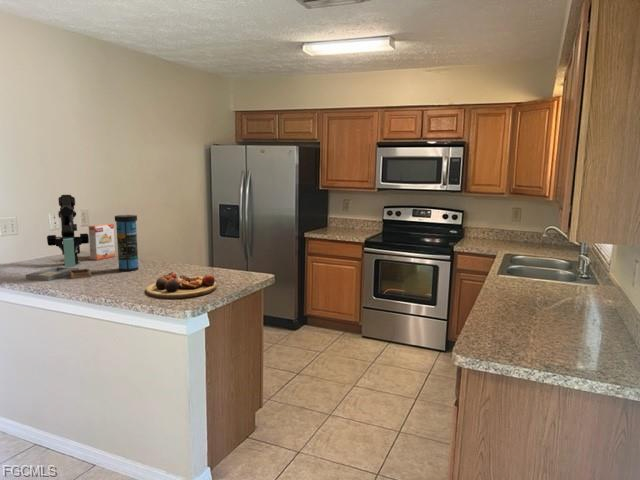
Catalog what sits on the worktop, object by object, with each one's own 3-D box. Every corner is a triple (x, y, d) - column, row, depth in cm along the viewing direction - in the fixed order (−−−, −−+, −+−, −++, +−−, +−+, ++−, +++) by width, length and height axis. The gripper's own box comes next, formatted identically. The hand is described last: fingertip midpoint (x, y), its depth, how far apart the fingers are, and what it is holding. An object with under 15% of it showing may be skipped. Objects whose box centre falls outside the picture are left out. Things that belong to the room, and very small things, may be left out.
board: (25, 278, 227) (25, 274, 227) (57, 270, 247) (57, 266, 246) (48, 280, 224) (48, 276, 224) (79, 271, 243) (78, 267, 243)
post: (65, 265, 232) (63, 238, 230) (75, 264, 234) (73, 238, 232) (65, 267, 228) (63, 239, 226) (75, 266, 231) (73, 239, 228)
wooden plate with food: (228, 284, 224) (227, 267, 223) (195, 301, 193) (195, 283, 192) (171, 280, 231) (170, 265, 230) (131, 297, 201) (129, 279, 200)
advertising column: (119, 267, 254) (116, 214, 249) (140, 267, 257) (138, 214, 252) (115, 272, 243) (112, 217, 238) (138, 271, 246) (135, 216, 241)
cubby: (69, 275, 235) (68, 270, 235) (88, 273, 240) (88, 268, 240) (71, 279, 228) (71, 274, 228) (91, 276, 233) (91, 272, 233)
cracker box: (97, 260, 272) (94, 226, 269) (90, 259, 274) (87, 225, 271) (115, 256, 285) (113, 223, 281) (108, 255, 287) (106, 223, 284)
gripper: (45, 219, 226) (46, 244, 219) (87, 218, 235) (89, 242, 228) (47, 232, 235) (48, 257, 227) (87, 231, 243) (89, 254, 236)
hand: (69, 252), depth 229 cm, fingers closed on post, 4 cm apart
